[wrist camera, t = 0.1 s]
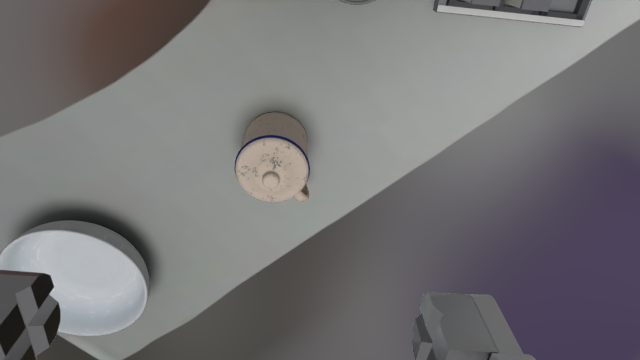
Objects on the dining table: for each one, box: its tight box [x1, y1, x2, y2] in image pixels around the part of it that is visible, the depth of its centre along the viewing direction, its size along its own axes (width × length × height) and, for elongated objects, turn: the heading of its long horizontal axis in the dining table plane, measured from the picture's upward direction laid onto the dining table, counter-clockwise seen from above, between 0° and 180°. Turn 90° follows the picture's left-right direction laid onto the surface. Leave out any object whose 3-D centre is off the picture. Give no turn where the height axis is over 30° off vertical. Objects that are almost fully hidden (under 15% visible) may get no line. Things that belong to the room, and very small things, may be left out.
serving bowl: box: [0, 220, 149, 336], centre depth 66 cm, size 21×21×7 cm
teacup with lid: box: [235, 112, 310, 202], centre depth 56 cm, size 12×9×12 cm
